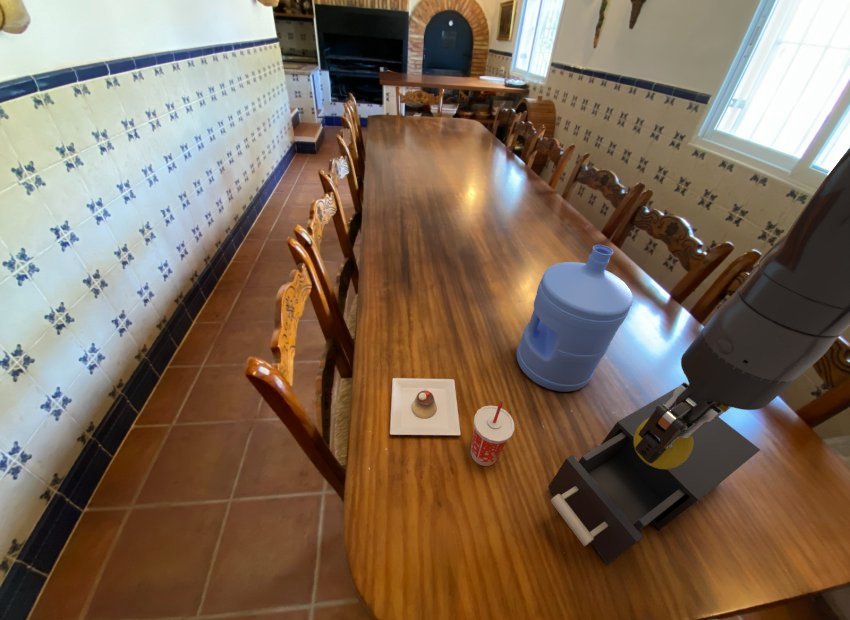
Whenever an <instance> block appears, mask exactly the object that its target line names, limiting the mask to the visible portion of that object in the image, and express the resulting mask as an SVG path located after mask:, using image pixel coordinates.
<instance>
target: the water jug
mask: <svg viewBox="0 0 850 620" xmlns="http://www.w3.org/2000/svg"><path fill="white" fill-rule="evenodd" d="M613 254H614V250H613V249H612V248H611V247H609V246H606V245H603V244H595V245H593V246H592V251H591V253H590V254H589V255H588V258H587V262H586V263H585V262H577V261H564V262H559V263H555V264H552V265H550V266H549V267H548V268H547V269H545V271H544V272H543V274H542V277H541V279H540V281H539V284H538V286H537V289H536V294H535V298H534V301H533V311H532V314H531V317H530V320H529V322H528V323H527V324H526V325H525V327H524V330H523V333H522V336H521V339H520V340H519V343H518V345H517V348H516V360H517V363H518V366H519V368H520V369H521V371H522V372H523V373H524V374H525V376H527V377H528V378H529V379H530V380H531V381H532V382H533V383H535V384H537V385H539V386H541V387H543V388H545V389H547V390H550V391H555V392H563V393H567V392H569V393H570V392H574V391H578V390H581V389H582V388H584V387H585V386H587V385H588V384H589V383H590V382H591V379H592V378H593V376H594V373H595V371H596V369H597V367H598V365H599V363H600V362H601V360H602V359H603V357H604V356H605V355H606V353H607V351H608V349H609V348H610V345H611V343H612V341H613V339H614V337H615V335H616V334H617V332H618V330H619V329H620V327H621V325H622V324H623V323H624V322H625V320H626V319H627V317H628V315H629V312H630V309H631V307H632V306H633V302H634V298H633V293H632V291H631V288H629V286H628V285H627V284H626V282H624V281H623V280H622V279H621V278H619V277H618V276H617V275H616V274H614V273H612V272H610V271H608V270H607V269H606V268H607V266H608V265H609V263H610V258H611V257H612V256H613Z"/></svg>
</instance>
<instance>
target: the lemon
mask: <svg viewBox="0 0 850 620" xmlns="http://www.w3.org/2000/svg"><path fill="white" fill-rule="evenodd" d="M648 420H649V418H648V419H647V420H645V421H644V422H643V423H642V424H640V426H639V427H638V428H637V430H636V432H635V435H634V447H636V446H637V445H638V444H639V442H640V441H641V440H642V438H641V437H640V436H639V435H638V434H639V432H640V430H641V429H642V428H643V427H644V425H645V424H646V423H647V421H648ZM686 427H687V426H686ZM693 442H694V440H693V436H690V437H688V438H682V437H681V438H679V439H678V440H677V441H676V442H675V443H674V444H673V447H672V448H670V449H669V448H668V449H667V450H666V451H665V452H664V453H663V454H662V455H661V456H660V457H659V458H658V459H657V460H656V461H655V462H653V463H648V462H647V461H646V460H645V459H644V458H643V457H642V456H641V455H640V454H639V453H638V452H637V451H636V452H637V454H638V456H639V457H640V458H641V459H642V460H643V461H644V462H645V463H647V464H648V465H650V466H652V467H655V468H658V469H672V468H675V467H678V466H679V465H681V464H682V463H684V462H685V461H686V460H687V459H688V457H689V455H690V454H691V452H692V449H693ZM635 450H636V449H635Z"/></svg>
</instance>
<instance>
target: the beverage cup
mask: <svg viewBox="0 0 850 620" xmlns="http://www.w3.org/2000/svg"><path fill="white" fill-rule="evenodd" d="M503 404H504V402H503V401H499V402H498V405H497V406H496V405H485V406H482V407H480V408H478V409H477V411H476V413H475V415H474V418H473V433H472V438H471V444H470V456H471V458H472V459H473V461H474V462H475V463H477V464H478V465H480V466H484V467H489V466H492V465H494V464H495V463H496V462H497V460H498V458H499V457H500V454H501V453H502V451H503V449H504V447H505V445H507V444H506V443H507V442H508V441H509V440H510V439H511V438H512V436H513V434H514V431H515V422H514V420H513V417H512V415H511V414H510V413H509V412H508V411H507V410H505V409H504V408H502V407H503Z"/></svg>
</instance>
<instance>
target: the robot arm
mask: <svg viewBox="0 0 850 620" xmlns="http://www.w3.org/2000/svg"><path fill="white" fill-rule="evenodd" d="M849 328H850V144H849V145H848V147H847V148H846V149H845V150H844V152H843V153H842V155H841V156H840V157H839V158H838V160H837V161H836V162H835V164H834V165H833V166H832V168H831V169H830V171H829V172H828V173H827V175H826V176H825V178H824V179H823V181H822V182H821V183H820V185H819V186H818V188H817V189H816V190H815V192H814V193H813V194H812V196H811V198H810V199H809V200H808V202H807V203H806V205H804V208H803V209H802V210H801V212H800V214H799V215H798V216H797V218H796V219H795V220H794V222H793V224H792V225H791V227H790V228H789V230H788V231H787V233H786V234H785V235H784V236H782V237H781V238H780V239H778V241H777V242H775V244H773V246H772V247H770V249H769V250H768V251H767V252H766V253H765V254H764V255H763V257H762V258H761V259H760V260H759V261H758V262H757V263H756V265H755V266H754V267H753V268H752V270H751V271H750V273H749V274H748V275H747V277H746V278H745V279H744V280H743V282H742V283H741V284H740V286H739V287H738V288H737V289H736V290H735V291H734V292H733V293H732V294H731V295H730V296H729V297H728V298H727V299H726V300H725V301H724V302H722V304H721V305H720V306H719V307H718V308H717V310H716V311H715V312H714V314H713V315H712V317H711V318H710V319H709V320H708V321H707V323H706V324H705V325H704V326H703V328H702V329H701V330H700V332H699V333H698V334H697V335H696V337H695V338H694V339H693V341H692V342H691V344H690V345H689V346H688V347H687V349H686V350H685V351H684V353H683V354H682V355H681V359H680V366H681V369H682V371H683V375H684V376H685V378H686V380H687V381H688V382H687V381H683V382H682V383H681V384H679V386H677V387H678V388H677V387H676V388H677V389H676V390H675V391H674V392H673V397H672V398H671V399H670V400H669V401H668V402H667V403H666V404H665V405H664V404H662V405H659V406H657V407H656V410H655V411H654V413H653V414H652V415H651V417H650V418H649V420H648V421H647V423H646V424H645V425H644V427H643V428H642V429H641V430H640V432H639V434H638V435H639V436H640V437H641V438H642V440H641V441H640V442H639V444H638V445H637V446H636V447H635V449H636V451H637V452H638V453H639V454H640V455H641V456H642V457H643V458H644V459H645V460H646V461H647V462H648V463H653V462H655V461H656V460H657V459H658V458H659V457H660V456H661V455H662V454H663V453H664V452H665V451H666V450H667V449H668V448H669V449H670V448H672V447H673V444H674V443H675V442H676V441H677V440H678V439H679V438H681V437H682V438H688V437H690V436H692V435H693V434H694V433H695V432H696V431H697V430H698V429H700V428H701V427H702V426H703V425H704V424H705V423H706V422H707V423H708V422H710V421H712V420H715V419H716V418H718V417H719V418H720V416H722V415H723V414H724V413H726V412H728V410H730V409H731V408H733V409H738V410H744V411H756V410H760V409H763V408H766V407H767V406H769V404H770V403H771V402H772V401H774V400H775V399H776V398H777V397H778V396H779V395H780V394H782V393H783V392H784V391H785V390H786V389H787V388H788V387H790V386H791V385H792V384H793V383H794V382H796V381H797V380H798V379H799V378H800V377H801V376H802V375H803V374H804V373H806V372H807V371H808V370H809V369H810V368H811V367H813V366H814V365H815V364H816V363H818V362H819V360H820V359H822V357H823V356H824V355H825V354H826V353H827V352H828V351H829V350H830V348H831V347H832V345H833V344H834V343H835V342H836V341H837V339H838V338H839V337H840V336H841V335H842V334H844V333H845V332H846V331H847V330H848V329H849ZM672 407H674V408H672ZM671 408H672V409H671ZM686 426H687V427H686Z"/></svg>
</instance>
